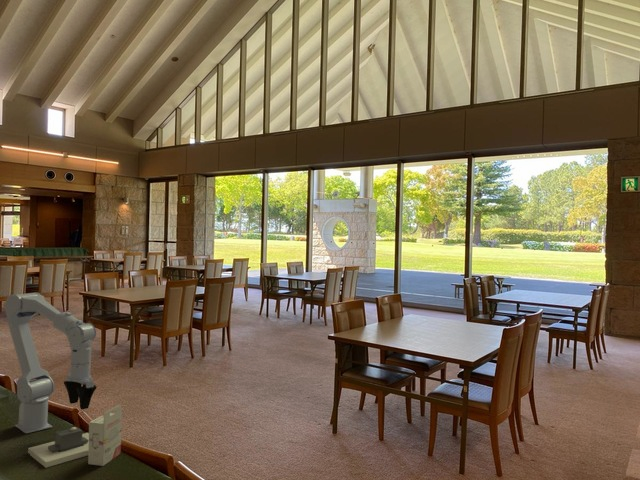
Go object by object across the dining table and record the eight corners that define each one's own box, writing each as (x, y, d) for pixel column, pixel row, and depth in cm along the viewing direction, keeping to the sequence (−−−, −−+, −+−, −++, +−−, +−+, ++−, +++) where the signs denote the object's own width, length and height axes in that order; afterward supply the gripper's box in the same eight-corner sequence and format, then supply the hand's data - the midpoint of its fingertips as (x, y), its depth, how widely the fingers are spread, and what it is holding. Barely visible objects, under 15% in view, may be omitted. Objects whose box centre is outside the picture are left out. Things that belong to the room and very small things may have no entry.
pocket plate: (27, 453, 142) (28, 448, 142) (87, 437, 155) (87, 432, 155) (45, 467, 134) (45, 462, 134) (107, 449, 147) (107, 444, 147)
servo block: (47, 454, 142) (48, 431, 142) (82, 445, 150) (83, 423, 150) (52, 459, 139) (53, 435, 140) (88, 448, 147) (89, 426, 147)
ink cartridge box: (106, 452, 145) (108, 401, 145) (121, 454, 144) (123, 403, 144) (86, 464, 137) (88, 411, 137) (102, 466, 136) (104, 412, 136)
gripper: (58, 360, 158) (56, 403, 158) (77, 369, 149) (76, 414, 149) (80, 357, 164) (78, 398, 164) (101, 365, 154) (99, 409, 154)
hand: (79, 405), depth 157 cm, fingers open, 7 cm apart
